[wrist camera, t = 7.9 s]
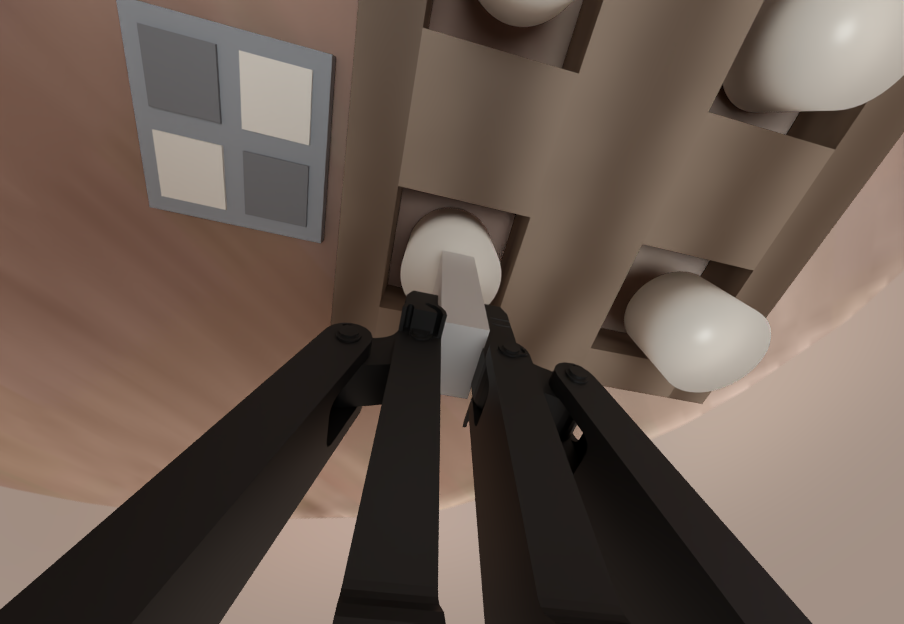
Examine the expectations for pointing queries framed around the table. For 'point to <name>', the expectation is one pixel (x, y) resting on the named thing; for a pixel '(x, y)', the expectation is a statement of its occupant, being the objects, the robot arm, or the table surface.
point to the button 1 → (452, 235)
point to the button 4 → (818, 55)
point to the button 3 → (696, 331)
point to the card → (229, 121)
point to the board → (591, 168)
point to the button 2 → (524, 10)
